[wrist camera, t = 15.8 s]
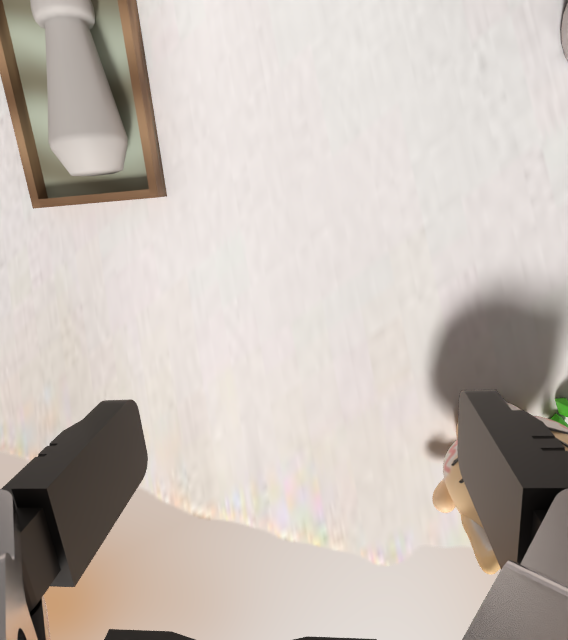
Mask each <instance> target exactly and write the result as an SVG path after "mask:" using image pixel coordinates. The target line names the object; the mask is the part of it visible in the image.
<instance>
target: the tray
mask: <svg viewBox="0 0 568 640" xmlns="http://www.w3.org/2000/svg"><path fill="white" fill-rule="evenodd" d="M91 2H92V5H93V7H94V13H95V23H94V25H93V28H91V29H90V32H91V35H92V38H93V40H94V43H95V46H96V49H97V52H98V55H99V58H100V60H101V63H102V66H103V69H104V72H105V75H106V78H107V80H108V83H109V86H110V89H111V92H112V95H113V98H114V100H115V103H116V106H117V109H118V112H119V115H120V118H121V120H122V123H123V126H124V129H125V132H126V135H127V138H128V147H127V152H126V157H125V162H124V168H123V170H122V171H119V172H117V173H114V174H107V175H98V176H71V175H70V173H69V172H68V171H67V169H66V168H65V167H64V166H63V164H62V163H61V162H60V160H59V159H58V158H57V157H56V155H55V154H54V153H53V151H52V150H51V148H50V145H49V143H48V92H47V66H46V39H45V29H44V28H41V27H40V26H39V25H38V24H37V23H36V21H35V19H34V17H33V14H32V11H31V5H30V0H0V74H1V78H2V82H3V86H4V91H5V95H6V99H7V103H8V107H9V111H10V115H11V120H12V124H13V128H14V132H15V136H16V140H17V144H18V148H19V153H20V157H21V161H22V165H23V169H24V173H25V177H26V182H27V186H28V190H29V194H30V198H31V202H32V206H33V208H42V207H54V206H65V205H76V204H87V203H99V202H110V201H121V200H132V199H144V198H155V197H164V196H167V194H166V188H165V182H164V175H163V169H162V162H161V156H160V150H159V143H158V137H157V130H156V124H155V118H154V111H153V105H152V98H151V92H150V86H149V79H148V73H147V67H146V60H145V54H144V47H143V41H142V35H141V28H140V22H139V15H138V9H137V3H136V0H91Z"/></svg>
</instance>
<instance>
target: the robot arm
mask: <svg viewBox="0 0 568 640" xmlns="http://www.w3.org/2000/svg"><path fill="white" fill-rule="evenodd" d="M561 36H562V46H563V50H564V54H565V57H566V59H567V61H568V2H567V5H566V8H565V11H564V14H563V20H562V27H561ZM457 452H458V463H459V468H460V473H461V476H462V478H463V481H464V483H465V486H466V488H467V490H468V493H469V495H470V497H471V500H472V502H473V504H474V507H475V509H476V511H477V514H478V516H479V519H480V521H481V523H482V526H483V528H484V530H485V533H486V535H487V537H488V540H489V542H490V545H491V547H492V549H493V552H494V554H495V556H496V559H497V561H498V563H499V566H500V568H501V571H500V573H499V575H498V576H497V578H496V580H495V582H494V584H493V585H492V587H491V589H490V591H489V592H488V594H487V596H486V598H485V600H484V601H483V603H482V605H481V607H480V609H479V610H478V612H477V614H476V616H475V618H474V619H473V621H472V623H471V625H470V627H469V629H468V630H467V632H466V634H465V635H464V637H463V639H462V640H568V451H565V447H564V446H563V445H562V444H561V442H560V441H559V440H558V439H555V435H554V434H553V433H552V432H551V431H550V430H549V428H548V427H547V426H546V425H545V424H544V422H543V421H541V420H539V419H537V418H536V417H534V416H532V415H531V414H529V413H527V412H525V411H524V410H511V408H510V407H509V406H508V404H507V403H506V402H505V400H504V399H503V398H502V397H501V395H500V394H499V393H498V391H497V390H462V391H461V392H460V396H459V412H458V446H457ZM147 461H148V457H147V449H146V445H145V440H144V435H143V430H142V425H141V420H140V415H139V410H138V406H137V404H136V403H135V401H133V400H105V401H102V402H100V403H99V404H98V405H97V406H96V407H95V408H94V409H93V410H92V411H91V412H90V413H89V414H88V415H87V416H86V417H85V418H84V419H83V420H81V421H80V422H78V423H76V424H74V425H73V426H71V427H69V428H67V429H66V430H64V431H63V432H61V433H60V434H59V435H58V436H57V437H56V438H55V439H54V440H53V441H52V442H51V443H50V446H47V447H45V448H44V449H43V450H42V451H41V452H40V453H39V454H38V457H35V458H34V459H33V460H32V461H31V462H29V463H28V464H27V465H26V466H25V467H24V468H23V469H22V470H21V471H20V472H19V473H18V474H17V475H16V476H15V477H14V478H13V479H11V480H10V481H9V482H8V483H7V484H6V485H5V486H4V487H3V488H2V489H0V640H50V632H49V624H48V615H47V607H46V603H45V600H44V597H43V595H44V594H45V592H46V591H47V589H48V588H49V586H59V587H75V585H76V584H77V582H78V581H79V579H80V578H81V576H82V574H83V573H84V571H85V570H86V568H87V567H88V565H89V563H90V562H91V560H92V559H93V557H94V555H95V554H96V552H97V551H98V549H99V548H100V546H101V544H102V543H103V541H104V540H105V538H106V536H107V535H108V533H109V532H110V530H111V529H112V527H113V525H114V523H115V522H116V521H117V519H118V518H119V516H120V514H121V513H122V511H123V509H124V508H125V507H126V505H127V503H128V502H129V500H130V498H131V497H132V495H133V494H134V492H135V491H136V489H137V488H138V486H139V484H140V483H141V481H142V480H143V478H144V476H145V473H146V469H147ZM104 640H195V639H192V638H189V637H186V636H183V635H180V634H177V633H174V632H169V631H166V632H165V631H141V630H115V629H109V631H108V633H107V635H106V637H105V639H104ZM294 640H376V639H356V638H329V637H303V638H299V639H294Z"/></svg>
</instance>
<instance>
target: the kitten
mask: <svg viewBox="0 0 568 640" xmlns="http://www.w3.org/2000/svg"><path fill="white" fill-rule="evenodd" d="M555 401H556V405H557V409H558V413H559V414H561V415H563V416H566V417H568V400H567V399H566V398H557V399H555ZM505 402H506V401H505ZM506 403H507V402H506ZM507 404H508V406H509V407H510V408H511V410H521V409H520V408H518V407H517V406H515V405H512V404H510V403H507ZM534 417H536V418H537V419H539V420H541V421H543V422H544V424H545V425H546V426H547V427H548V428H549V430H550V431H551V432H552V433H553V434H554V435H555V439H558V440H559V441H560V442H561V444H562V445H563V446H564V447H565V451H568V424H567V423H566V422H565V421H564V420H563V419H562V418H561V417H560V416H559V415H558V414H556V413H555V415H554V416H553V417H552V418H550V419H547V418H544V417H539V416H534ZM456 434H457V440H456V441H455V442H454V443H453V444H452V446H451V447H450V448H449V450H448V452H447V453H446V456H445V459H444V463H443V475H444V479H443V480H442V481H441V482H440V483H439V484H438V486H437V487H436V489H435V490H434V493H433V504H434V506H435V507H436V509H437V510H439V511H440V512H443V513H448V512H451V511H452V510H453V509H454V508H455V506H456V508H457V510H458V511H459V513H460V514H461V520H462V524H463V527H464V529H465V531H466V533H467V535H468V537H469V540H470V542H471V545H472V547H473V550H474V553H475V556H476V559H477V561H478V563H479V565H480V567H481V568H482V570H483V571H484V572H485V573H487V574H495V573H496V572H497V571H498V570H499V569H500V566H499V563H498V561H497V559H496V556H495V554H494V552H493V549H492V547H491V545H490V542H489V540H488V537H487V535H486V533H485V530H484V528H483V526H482V523H481V521H480V519H479V516H478V514H477V511H476V509H475V507H474V504H473V502H472V500H471V497H470V495H469V493H468V490H467V488H466V486H465V483H464V481H463V478H462V476H461V473H460V468H459V463H458V452H457V446H458V423H457V427H456Z"/></svg>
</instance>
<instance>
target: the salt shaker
mask: <svg viewBox="0 0 568 640" xmlns="http://www.w3.org/2000/svg"><path fill="white" fill-rule="evenodd" d="M30 5H31V11H32V14H33V17H34V19H35V21H36V23H37V24H38V25H39V26H40V27H41V28H44V29H45V39H46V66H47V92H48V143H49V145H50V148H51V150H52V151H53V153H54V154H55V155H56V157H57V158H58V159H59V160H60V162H61V163H62V164H63V166H64V167H65V168H66V169H67V171H68V172H69V173H70V175H71V176H98V175H107V174H114V173H117V172H119V171H122V170H123V168H124V162H125V157H126V152H127V147H128V138H127V135H126V132H125V129H124V126H123V123H122V120H121V118H120V115H119V112H118V109H117V106H116V103H115V100H114V98H113V95H112V92H111V89H110V86H109V83H108V80H107V78H106V75H105V72H104V69H103V66H102V63H101V60H100V58H99V55H98V52H97V49H96V46H95V43H94V40H93V38H92V35H91V32H90V29H91V28H93V25H94V23H95V13H94V7H93V5H92V2H91V0H30Z"/></svg>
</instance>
